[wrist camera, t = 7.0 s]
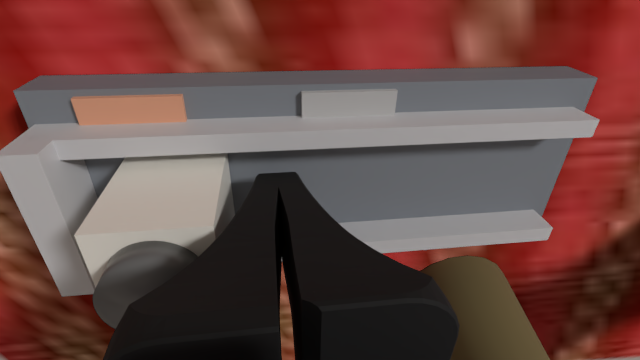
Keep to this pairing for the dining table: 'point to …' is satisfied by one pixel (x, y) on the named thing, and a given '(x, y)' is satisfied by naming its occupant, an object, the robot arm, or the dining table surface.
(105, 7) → the dining table surface
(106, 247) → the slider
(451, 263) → the brown tall tapered piece
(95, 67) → the dining table surface
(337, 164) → the board
